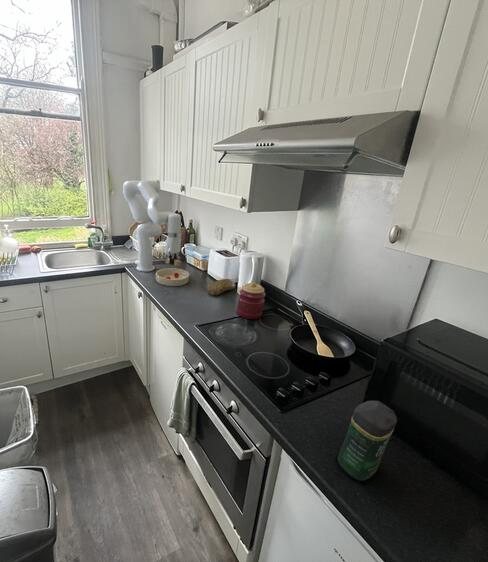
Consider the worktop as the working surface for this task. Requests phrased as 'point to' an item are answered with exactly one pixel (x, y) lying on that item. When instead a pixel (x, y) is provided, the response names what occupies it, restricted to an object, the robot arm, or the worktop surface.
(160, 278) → the bowl
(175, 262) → the stick
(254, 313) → the kitchen canister
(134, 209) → the robot arm
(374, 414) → the coffee jar
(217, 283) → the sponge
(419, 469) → the worktop surface
